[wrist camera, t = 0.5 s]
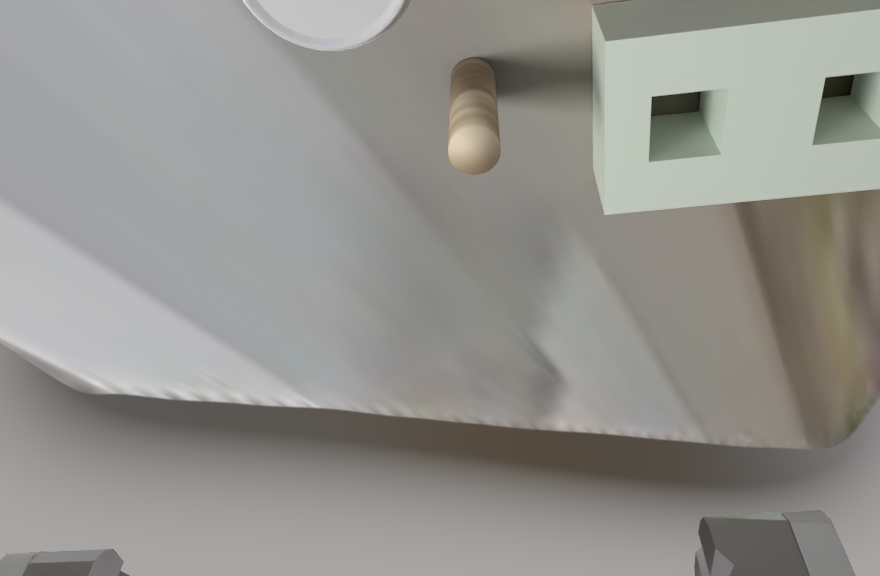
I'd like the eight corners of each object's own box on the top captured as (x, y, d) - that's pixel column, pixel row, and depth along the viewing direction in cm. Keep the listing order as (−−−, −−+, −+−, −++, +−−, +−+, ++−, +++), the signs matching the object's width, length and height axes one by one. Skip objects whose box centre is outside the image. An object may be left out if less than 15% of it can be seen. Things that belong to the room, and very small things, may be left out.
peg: (448, 60, 51) (445, 131, 43) (493, 54, 50) (497, 125, 43) (453, 101, 53) (451, 177, 45) (497, 96, 52) (502, 171, 44)
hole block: (591, 5, 48) (605, 41, 43) (925, -37, 46) (977, -3, 41) (593, 168, 56) (604, 214, 51) (879, 139, 53) (919, 185, 49)
